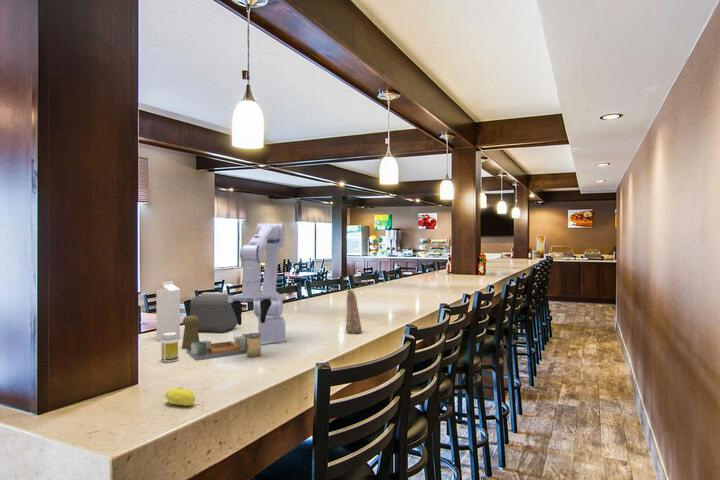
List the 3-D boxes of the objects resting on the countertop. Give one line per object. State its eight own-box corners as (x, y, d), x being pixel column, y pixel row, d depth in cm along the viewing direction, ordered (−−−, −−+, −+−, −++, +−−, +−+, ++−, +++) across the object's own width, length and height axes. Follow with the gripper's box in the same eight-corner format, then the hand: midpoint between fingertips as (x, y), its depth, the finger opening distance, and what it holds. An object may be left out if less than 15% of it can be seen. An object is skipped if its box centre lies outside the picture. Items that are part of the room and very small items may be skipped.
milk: (156, 340, 173) (155, 281, 173) (166, 337, 179) (166, 280, 179) (170, 341, 171) (169, 282, 171) (180, 338, 177) (179, 280, 177)
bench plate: (244, 344, 166) (244, 331, 166) (257, 351, 156) (257, 338, 156) (185, 352, 155) (185, 338, 155) (195, 360, 144) (195, 345, 144)
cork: (194, 349, 159) (194, 317, 159) (178, 348, 160) (178, 317, 160) (203, 345, 165) (203, 314, 165) (188, 344, 166) (188, 314, 166)
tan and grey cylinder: (258, 353, 153) (258, 332, 153) (263, 356, 149) (263, 334, 149) (244, 355, 151) (244, 333, 151) (249, 358, 147) (249, 336, 147)
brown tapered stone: (345, 333, 189) (348, 336, 183) (338, 290, 188) (341, 292, 182) (360, 330, 191) (363, 333, 185) (353, 287, 189) (357, 289, 184)
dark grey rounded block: (237, 328, 196) (237, 292, 196) (223, 334, 185) (223, 295, 185) (202, 327, 200) (202, 291, 200) (187, 332, 189) (187, 294, 189)
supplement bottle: (181, 359, 146) (181, 332, 146) (170, 363, 141) (170, 335, 141) (169, 358, 147) (168, 331, 147) (158, 361, 143) (158, 334, 143)
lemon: (186, 410, 102) (185, 392, 102) (160, 404, 106) (160, 387, 106) (200, 404, 106) (200, 387, 106) (175, 399, 110) (175, 382, 110)
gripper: (232, 283, 143) (231, 327, 142) (277, 281, 150) (276, 323, 150) (226, 281, 149) (226, 324, 149) (269, 280, 156) (269, 320, 156)
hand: (251, 323), depth 150 cm, fingers open, 7 cm apart
